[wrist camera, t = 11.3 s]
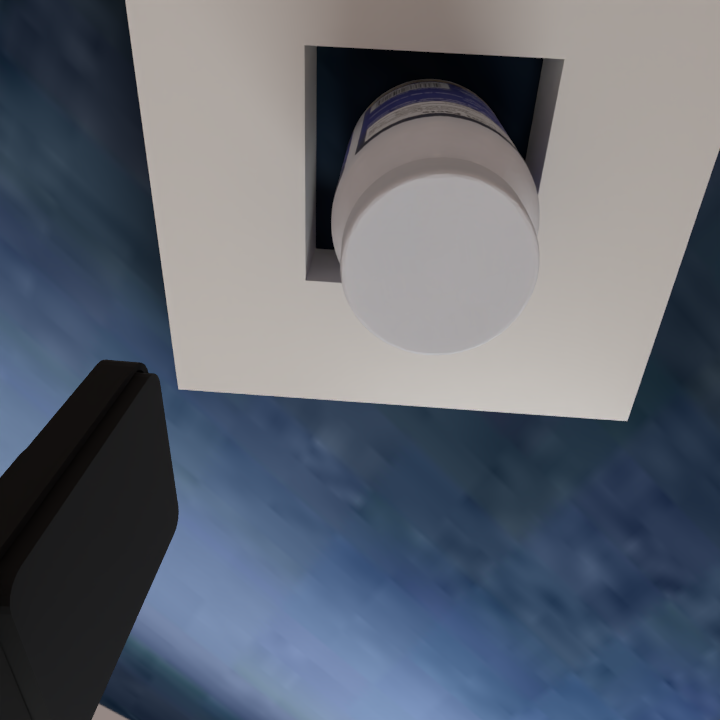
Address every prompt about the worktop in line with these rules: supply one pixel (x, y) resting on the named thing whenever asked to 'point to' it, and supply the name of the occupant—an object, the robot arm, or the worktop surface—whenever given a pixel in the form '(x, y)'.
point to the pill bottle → (435, 220)
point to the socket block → (543, 158)
